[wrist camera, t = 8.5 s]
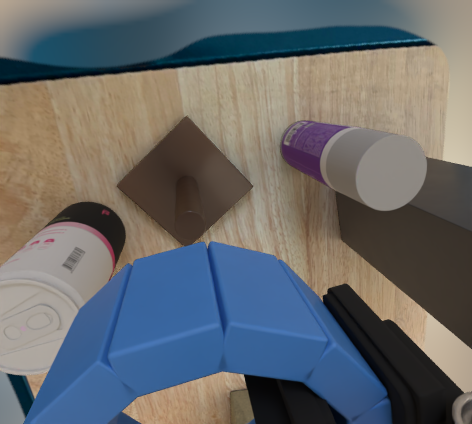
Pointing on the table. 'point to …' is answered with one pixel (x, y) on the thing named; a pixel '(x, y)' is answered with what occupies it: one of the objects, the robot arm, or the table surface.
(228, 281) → the ring
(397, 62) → the table surface
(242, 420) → the tissue box
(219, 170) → the stand
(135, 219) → the table surface
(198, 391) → the table surface
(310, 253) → the table surface
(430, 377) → the robot arm
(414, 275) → the pedestal
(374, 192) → the container
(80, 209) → the beverage can
